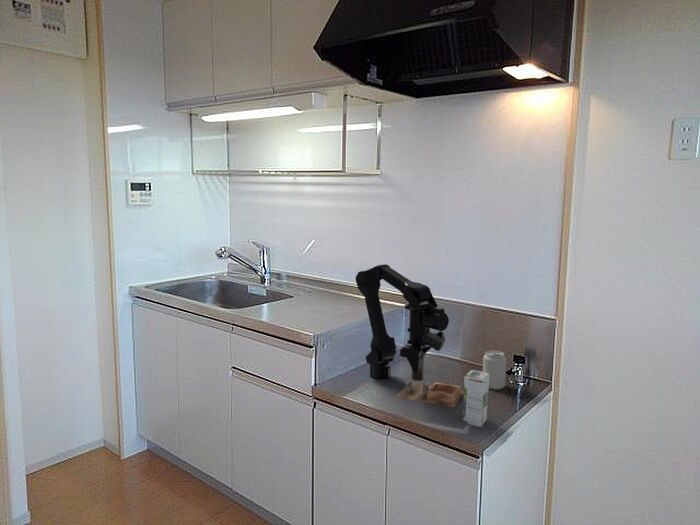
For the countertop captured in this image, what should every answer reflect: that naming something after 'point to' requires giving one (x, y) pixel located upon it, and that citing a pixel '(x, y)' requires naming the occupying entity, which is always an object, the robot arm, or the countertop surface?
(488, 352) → the can
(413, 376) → the cell
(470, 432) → the countertop surface
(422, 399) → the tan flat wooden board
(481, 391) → the syrup box
